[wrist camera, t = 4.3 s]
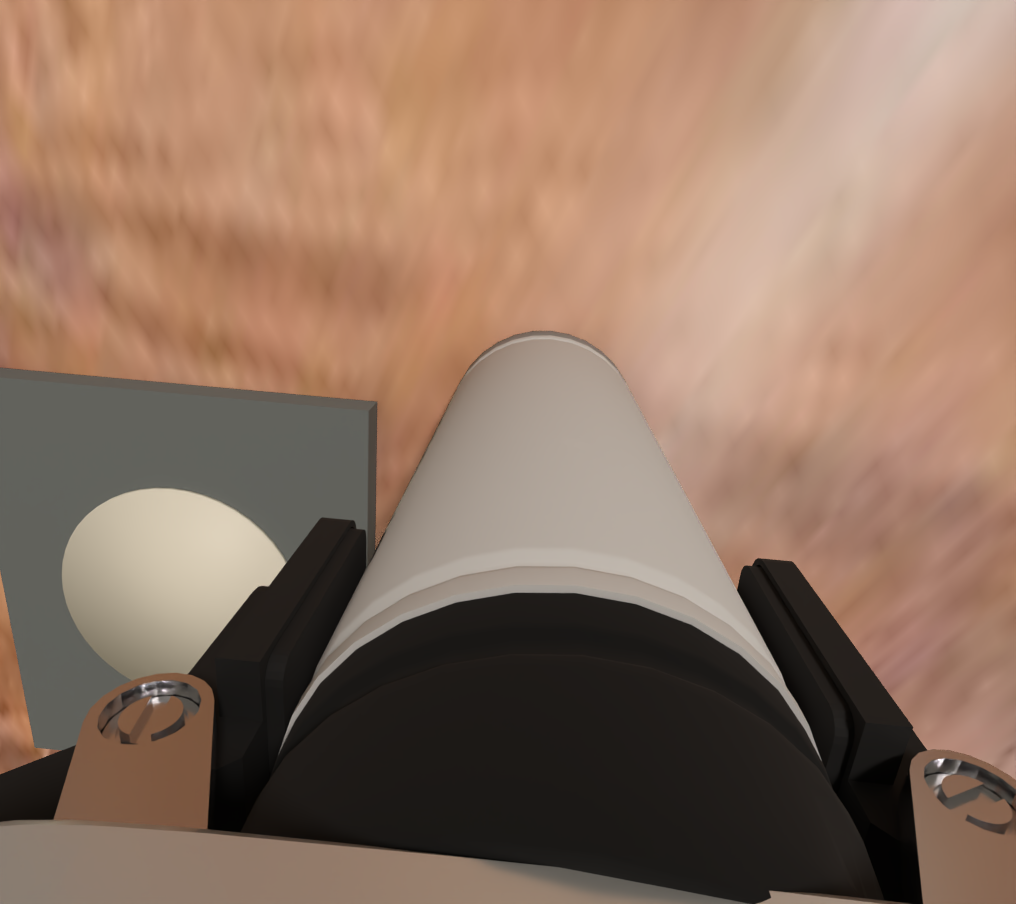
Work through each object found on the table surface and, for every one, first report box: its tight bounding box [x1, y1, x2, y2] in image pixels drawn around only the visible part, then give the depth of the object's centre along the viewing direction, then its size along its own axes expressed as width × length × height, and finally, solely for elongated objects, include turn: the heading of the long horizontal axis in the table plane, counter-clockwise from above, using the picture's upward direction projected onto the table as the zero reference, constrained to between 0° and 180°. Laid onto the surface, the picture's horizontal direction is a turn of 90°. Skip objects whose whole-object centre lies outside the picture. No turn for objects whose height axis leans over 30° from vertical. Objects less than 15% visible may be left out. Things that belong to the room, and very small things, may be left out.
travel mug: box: [240, 331, 884, 904], centre depth 14 cm, size 6×7×20 cm
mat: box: [0, 368, 377, 750], centre depth 26 cm, size 16×14×1 cm
